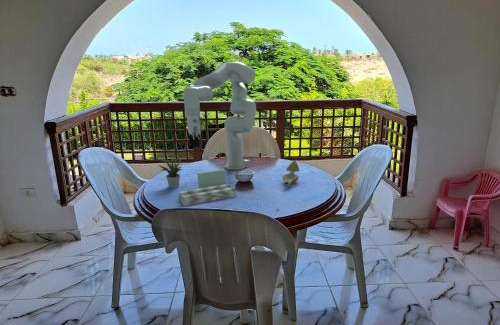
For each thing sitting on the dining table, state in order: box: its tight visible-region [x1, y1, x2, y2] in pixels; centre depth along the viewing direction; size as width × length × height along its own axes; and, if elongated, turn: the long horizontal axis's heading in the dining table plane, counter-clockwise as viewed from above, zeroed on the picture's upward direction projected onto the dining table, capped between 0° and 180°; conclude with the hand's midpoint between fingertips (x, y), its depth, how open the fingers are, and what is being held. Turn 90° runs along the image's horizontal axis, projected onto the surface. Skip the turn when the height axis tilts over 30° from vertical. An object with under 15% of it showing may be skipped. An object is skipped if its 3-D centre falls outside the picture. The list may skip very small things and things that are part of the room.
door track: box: [178, 183, 237, 206], centre depth 163 cm, size 26×10×4 cm, turn 114°
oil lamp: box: [282, 159, 300, 187], centre depth 180 cm, size 9×21×10 cm, turn 162°
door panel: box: [197, 168, 226, 189], centre depth 175 cm, size 14×2×9 cm, turn 114°
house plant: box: [157, 156, 186, 189], centre depth 178 cm, size 14×14×16 cm
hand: (194, 144), depth 175 cm, fingers open, 9 cm apart
